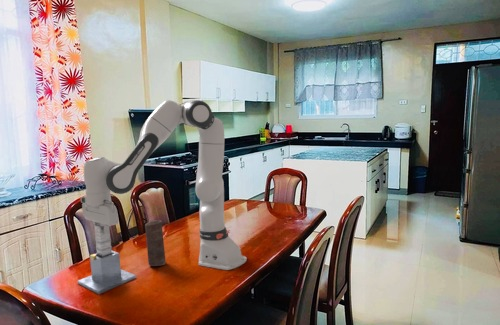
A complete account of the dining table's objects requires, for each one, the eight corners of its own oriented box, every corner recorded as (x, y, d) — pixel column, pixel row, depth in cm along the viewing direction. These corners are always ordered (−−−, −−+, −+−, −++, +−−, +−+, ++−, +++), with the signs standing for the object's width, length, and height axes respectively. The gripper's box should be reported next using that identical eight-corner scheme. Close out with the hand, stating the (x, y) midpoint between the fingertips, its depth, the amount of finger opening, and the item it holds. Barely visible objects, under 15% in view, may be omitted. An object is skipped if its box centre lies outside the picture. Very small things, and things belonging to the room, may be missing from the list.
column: (114, 276, 142) (109, 223, 139) (104, 280, 139) (99, 226, 136) (108, 273, 145) (103, 222, 142) (98, 277, 141) (93, 225, 139)
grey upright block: (156, 269, 150) (152, 224, 148) (144, 266, 154) (140, 222, 152) (169, 263, 157) (165, 219, 154) (157, 260, 161) (154, 218, 158)
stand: (135, 277, 143) (133, 248, 142) (99, 294, 131) (95, 262, 129) (114, 269, 153) (111, 241, 152) (77, 283, 141) (74, 254, 139)
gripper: (121, 199, 134) (124, 234, 136) (93, 194, 146) (96, 226, 148) (105, 203, 129) (109, 239, 131) (78, 197, 141) (81, 230, 143)
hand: (102, 232), depth 139 cm, fingers closed on column, 4 cm apart
